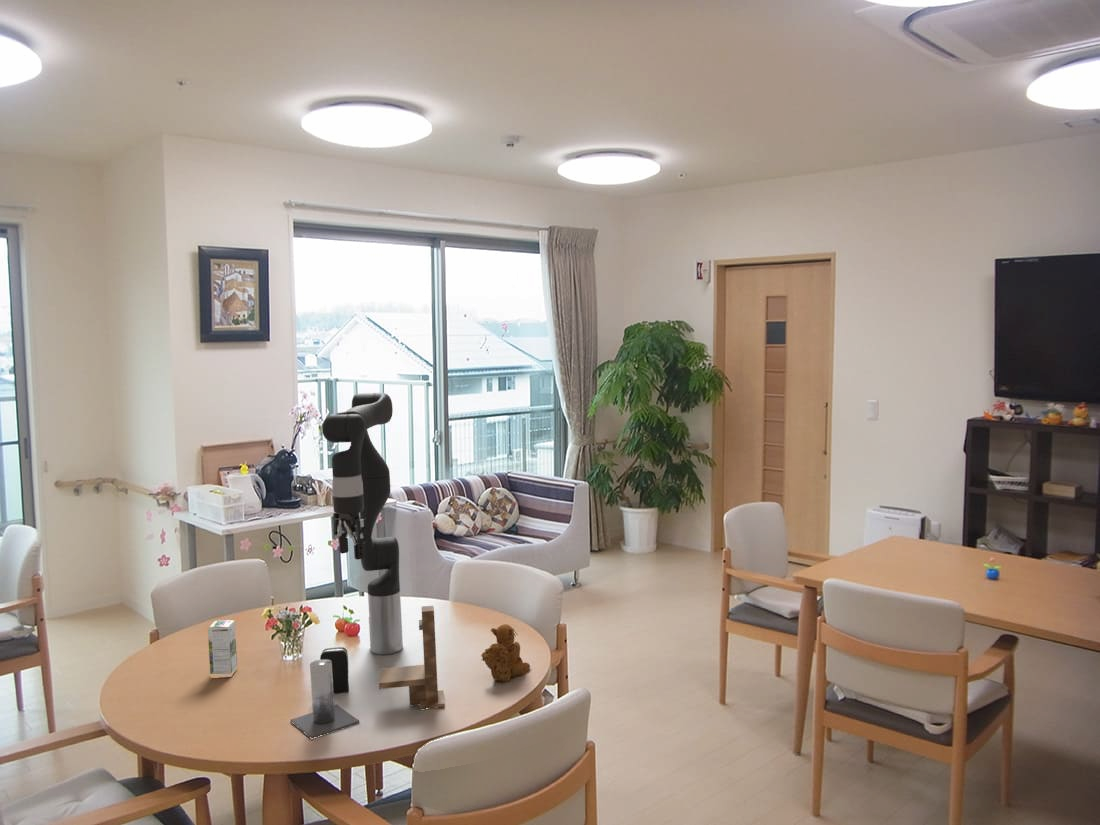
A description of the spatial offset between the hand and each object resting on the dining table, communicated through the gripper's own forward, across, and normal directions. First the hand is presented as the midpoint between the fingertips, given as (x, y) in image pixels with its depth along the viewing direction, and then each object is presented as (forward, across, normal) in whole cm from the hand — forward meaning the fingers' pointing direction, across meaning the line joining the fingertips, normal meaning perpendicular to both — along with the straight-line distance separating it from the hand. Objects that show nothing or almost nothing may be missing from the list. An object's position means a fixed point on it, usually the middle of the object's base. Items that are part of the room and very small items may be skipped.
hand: (351, 555), depth 215 cm
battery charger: (+36, +5, +4) cm, 37 cm away
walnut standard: (+36, -16, -7) cm, 40 cm away
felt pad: (+36, -10, +14) cm, 40 cm away
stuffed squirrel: (+36, -18, -34) cm, 53 cm away
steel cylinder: (+36, -10, +14) cm, 39 cm away
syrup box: (+36, +37, +22) cm, 56 cm away
